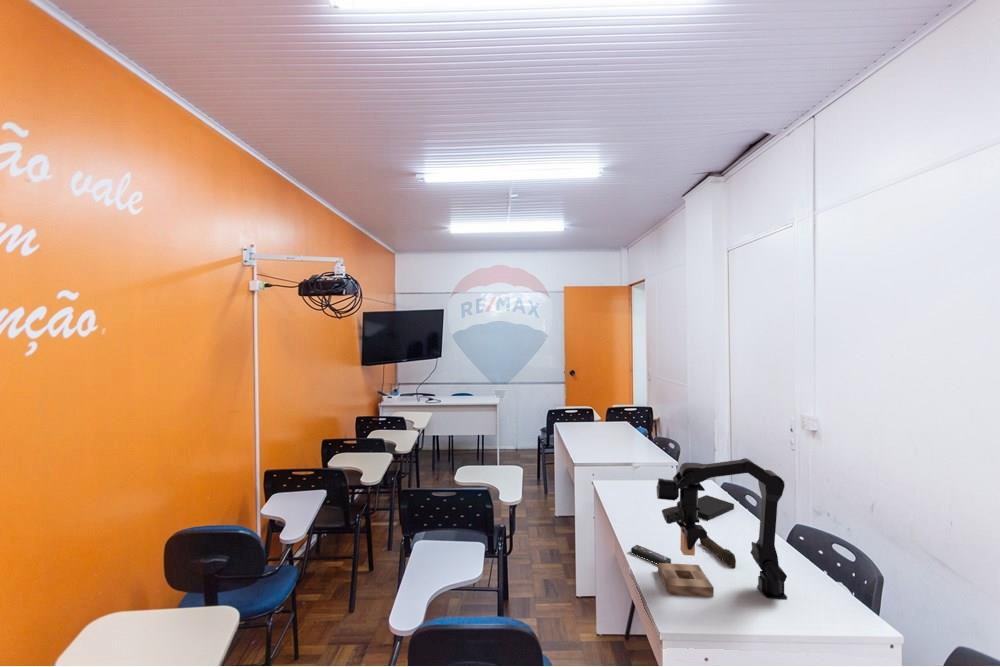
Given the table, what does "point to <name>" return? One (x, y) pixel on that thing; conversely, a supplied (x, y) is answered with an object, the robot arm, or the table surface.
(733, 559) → the brown long rough piece
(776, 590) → the robot arm
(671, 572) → the socket block
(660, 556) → the multiport hub
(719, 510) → the external hard drive
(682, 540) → the peg
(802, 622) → the table surface
